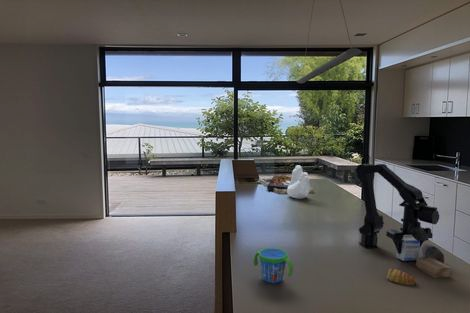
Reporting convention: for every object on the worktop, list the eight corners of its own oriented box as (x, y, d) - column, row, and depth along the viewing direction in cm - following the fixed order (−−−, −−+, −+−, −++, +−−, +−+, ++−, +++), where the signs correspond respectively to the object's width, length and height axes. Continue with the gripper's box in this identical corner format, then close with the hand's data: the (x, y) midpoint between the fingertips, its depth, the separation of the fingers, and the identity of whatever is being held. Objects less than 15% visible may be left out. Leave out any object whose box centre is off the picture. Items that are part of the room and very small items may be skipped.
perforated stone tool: (417, 253, 157) (418, 239, 156) (429, 254, 156) (431, 239, 155) (431, 267, 142) (432, 251, 141) (444, 268, 141) (446, 252, 141)
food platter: (297, 193, 281) (298, 180, 280) (267, 190, 286) (268, 178, 285) (299, 182, 324) (300, 171, 323) (273, 180, 330) (274, 169, 328)
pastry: (416, 281, 130) (417, 271, 129) (413, 288, 124) (414, 278, 124) (389, 274, 135) (390, 265, 134) (385, 281, 129) (386, 271, 129)
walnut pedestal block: (434, 278, 133) (434, 268, 132) (416, 267, 142) (416, 258, 142) (449, 277, 134) (450, 267, 133) (430, 266, 144) (431, 257, 143)
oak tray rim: (276, 193, 277) (277, 190, 276) (258, 182, 327) (259, 178, 327) (314, 192, 283) (314, 189, 283) (290, 181, 334) (290, 178, 334)
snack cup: (247, 277, 129) (247, 251, 128) (264, 268, 137) (265, 244, 136) (281, 292, 119) (282, 263, 118) (298, 282, 126) (299, 255, 125)
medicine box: (403, 261, 146) (405, 241, 145) (396, 257, 150) (397, 238, 149) (418, 260, 148) (420, 240, 147) (411, 256, 152) (412, 237, 151)
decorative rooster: (285, 194, 274) (286, 163, 271) (304, 195, 274) (306, 164, 272) (291, 202, 249) (293, 168, 246) (313, 202, 249) (314, 168, 247)
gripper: (404, 224, 137) (401, 262, 139) (444, 222, 141) (440, 259, 143) (386, 216, 148) (384, 251, 150) (424, 215, 152) (421, 249, 154)
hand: (407, 253), depth 149 cm, fingers closed on medicine box, 8 cm apart
